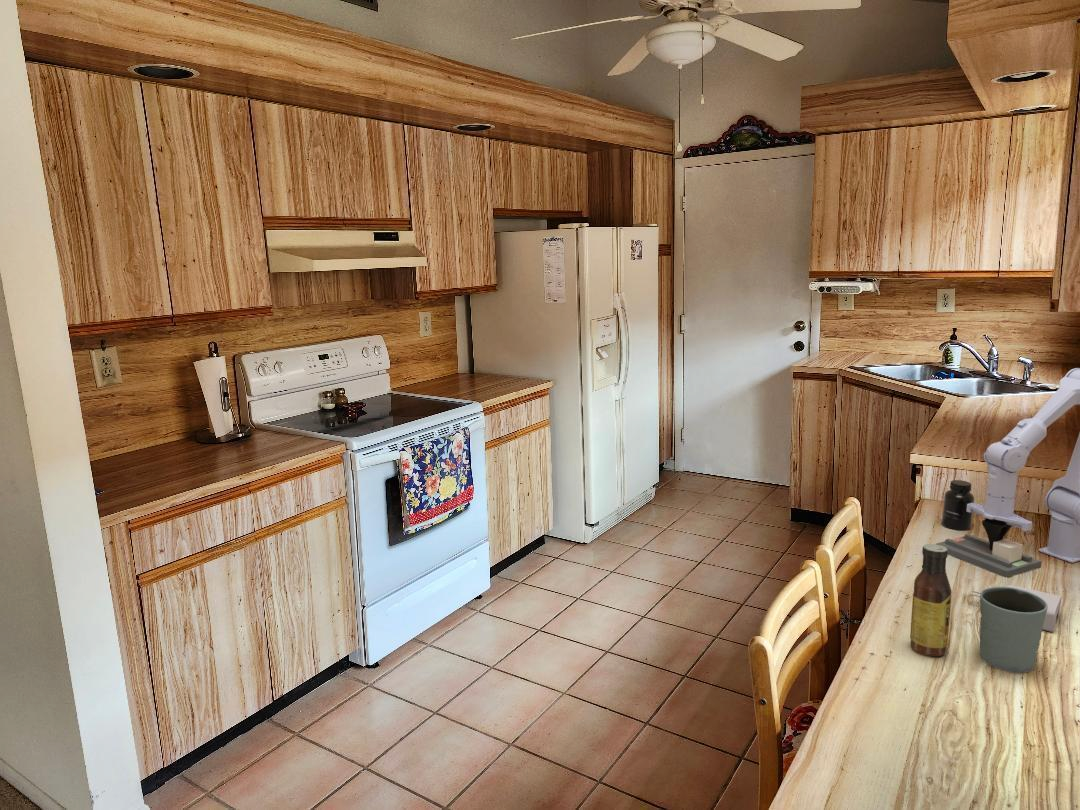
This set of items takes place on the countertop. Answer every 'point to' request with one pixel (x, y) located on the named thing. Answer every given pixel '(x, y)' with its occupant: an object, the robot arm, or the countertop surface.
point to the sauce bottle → (931, 603)
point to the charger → (1051, 601)
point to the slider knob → (1007, 550)
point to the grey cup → (1010, 628)
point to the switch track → (987, 556)
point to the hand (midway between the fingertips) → (994, 549)
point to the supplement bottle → (957, 506)
